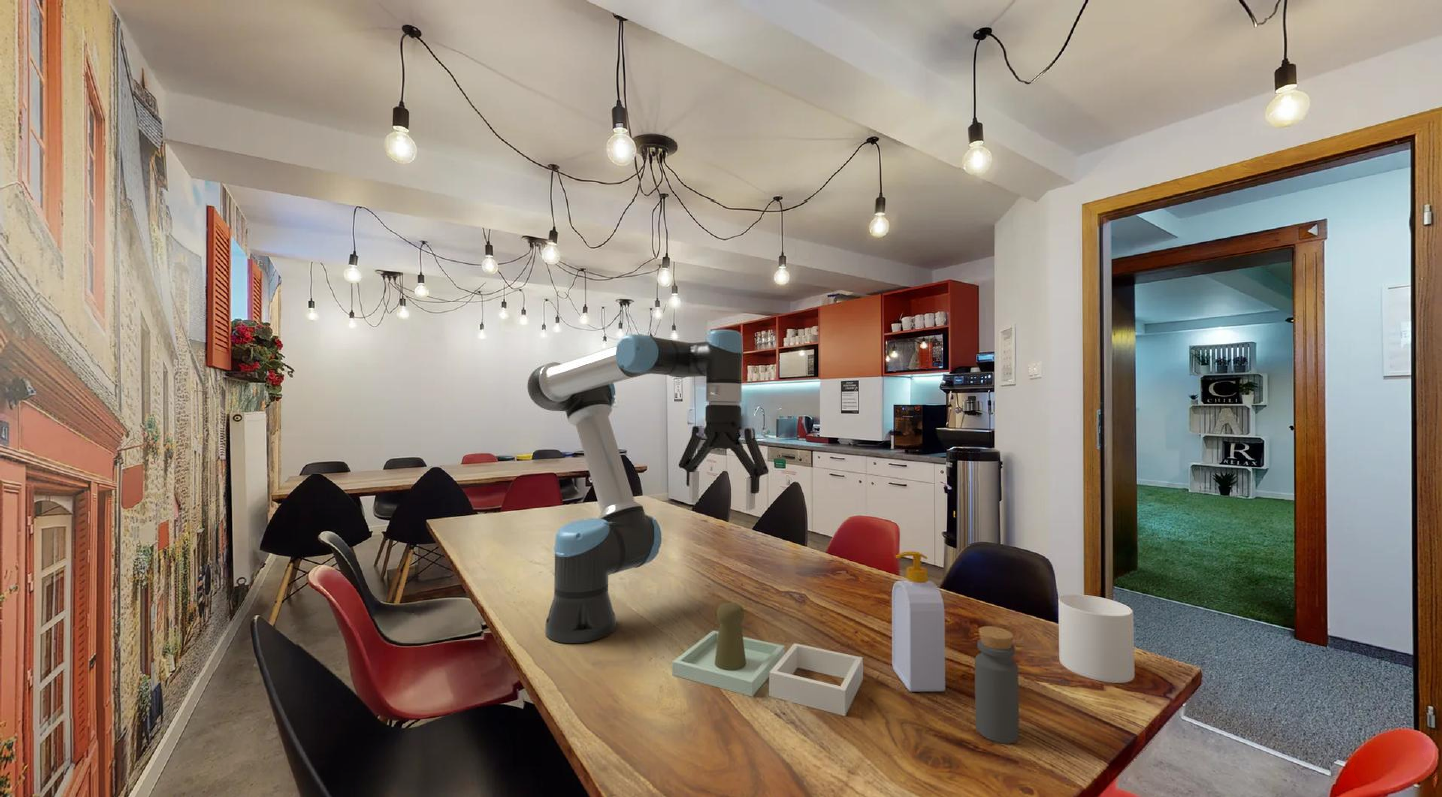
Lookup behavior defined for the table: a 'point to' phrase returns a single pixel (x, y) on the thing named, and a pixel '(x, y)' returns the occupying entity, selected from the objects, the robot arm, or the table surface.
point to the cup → (1096, 638)
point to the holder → (812, 690)
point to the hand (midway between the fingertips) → (721, 505)
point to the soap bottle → (918, 629)
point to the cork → (730, 638)
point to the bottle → (996, 686)
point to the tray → (745, 681)
